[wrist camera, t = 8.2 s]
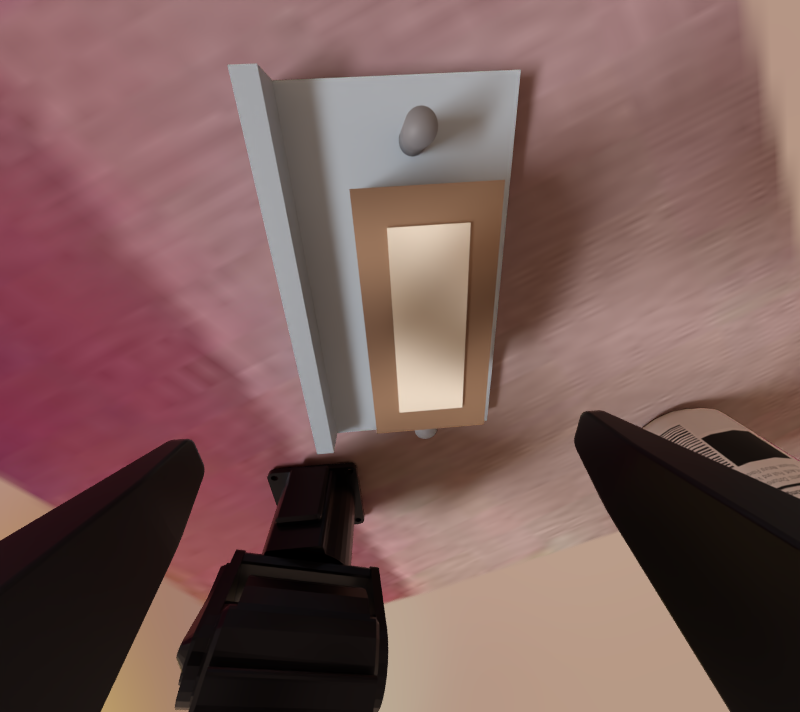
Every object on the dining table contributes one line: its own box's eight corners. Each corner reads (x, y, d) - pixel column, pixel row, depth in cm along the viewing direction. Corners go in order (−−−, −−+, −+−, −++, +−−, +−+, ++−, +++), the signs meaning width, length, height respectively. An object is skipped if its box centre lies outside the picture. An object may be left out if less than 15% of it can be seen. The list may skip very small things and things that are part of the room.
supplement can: (746, 415, 24) (1206, 688, 11) (673, 488, 27) (953, 764, 14) (664, 390, 22) (1086, 677, 9) (597, 471, 26) (833, 765, 12)
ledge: (481, 409, 22) (502, 453, 18) (324, 422, 22) (313, 469, 18) (509, 79, 14) (558, 36, 10) (257, 90, 13) (211, 50, 10)
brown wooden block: (458, 371, 19) (484, 426, 15) (377, 377, 19) (377, 435, 14) (465, 184, 15) (506, 179, 10) (358, 191, 14) (349, 188, 10)
